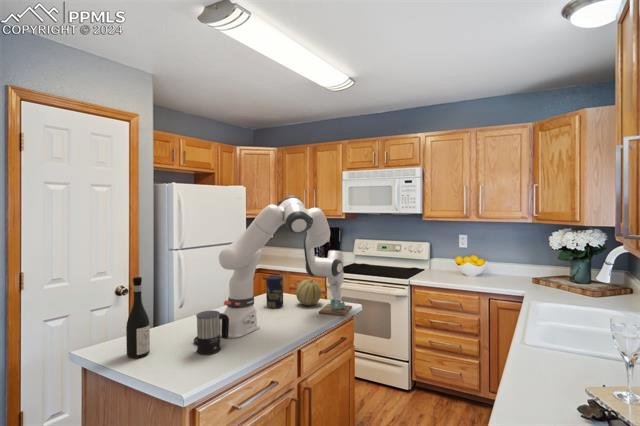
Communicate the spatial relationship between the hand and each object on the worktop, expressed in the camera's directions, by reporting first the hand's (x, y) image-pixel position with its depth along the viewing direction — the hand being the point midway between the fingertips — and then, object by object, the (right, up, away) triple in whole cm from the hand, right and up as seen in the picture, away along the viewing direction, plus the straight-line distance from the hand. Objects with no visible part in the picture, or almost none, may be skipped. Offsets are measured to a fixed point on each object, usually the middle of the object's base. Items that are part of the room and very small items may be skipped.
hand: (335, 304), depth 201 cm
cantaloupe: (-15, -3, +11) cm, 19 cm away
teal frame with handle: (+1, -2, 0) cm, 2 cm away
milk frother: (-55, -5, -51) cm, 75 cm away
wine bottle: (-79, -5, -58) cm, 98 cm away
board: (0, -3, 0) cm, 3 cm away
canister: (-34, -3, +8) cm, 35 cm away
